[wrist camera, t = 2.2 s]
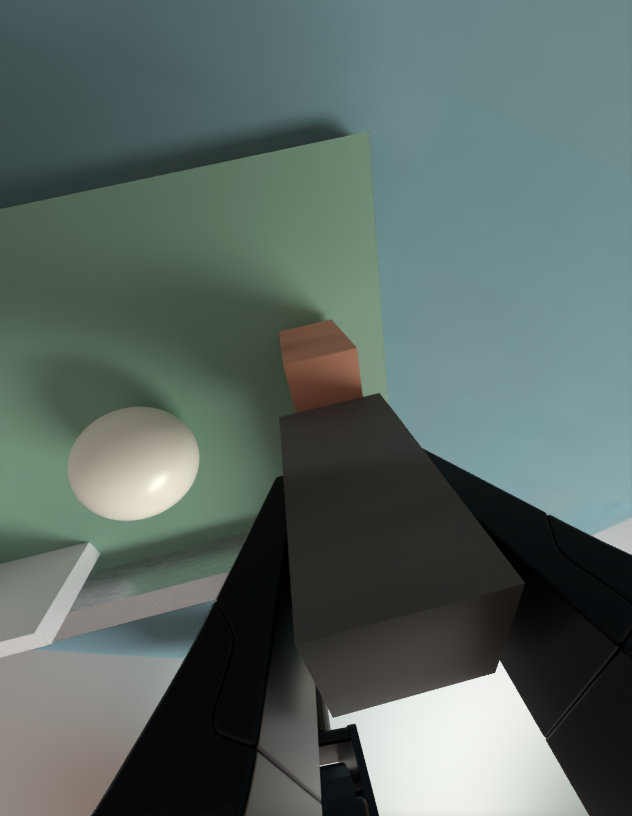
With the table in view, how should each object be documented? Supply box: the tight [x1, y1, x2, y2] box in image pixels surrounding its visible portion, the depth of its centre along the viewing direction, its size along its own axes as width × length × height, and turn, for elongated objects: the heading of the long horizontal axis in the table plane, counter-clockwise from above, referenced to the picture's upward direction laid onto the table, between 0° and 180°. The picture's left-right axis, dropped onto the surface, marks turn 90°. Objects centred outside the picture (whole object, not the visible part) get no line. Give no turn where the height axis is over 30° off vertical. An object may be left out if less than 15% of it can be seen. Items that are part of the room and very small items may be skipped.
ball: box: [67, 406, 199, 521], centre depth 10 cm, size 4×4×4 cm
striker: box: [279, 319, 525, 718], centre depth 10 cm, size 13×3×9 cm, turn 13°
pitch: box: [0, 131, 388, 573], centre depth 13 cm, size 18×22×1 cm
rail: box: [52, 533, 248, 642], centre depth 16 cm, size 2×21×2 cm, turn 103°
